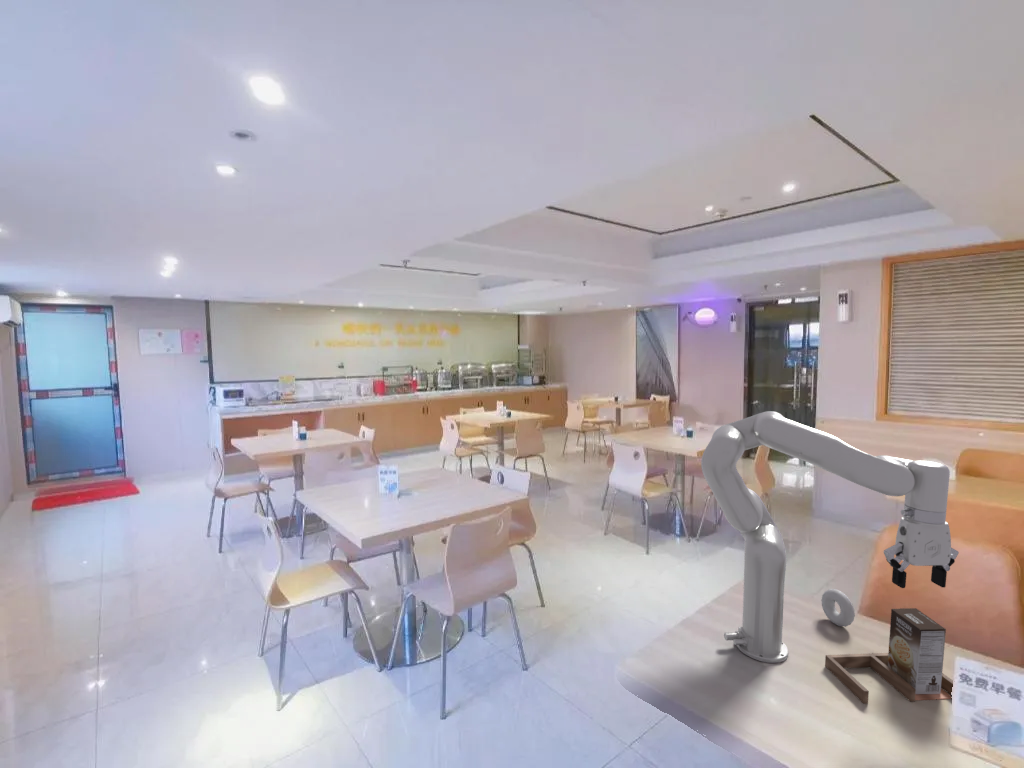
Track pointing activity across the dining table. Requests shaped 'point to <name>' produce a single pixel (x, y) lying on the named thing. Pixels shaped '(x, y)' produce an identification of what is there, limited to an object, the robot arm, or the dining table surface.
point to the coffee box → (916, 649)
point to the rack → (880, 667)
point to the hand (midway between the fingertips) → (918, 585)
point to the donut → (844, 603)
